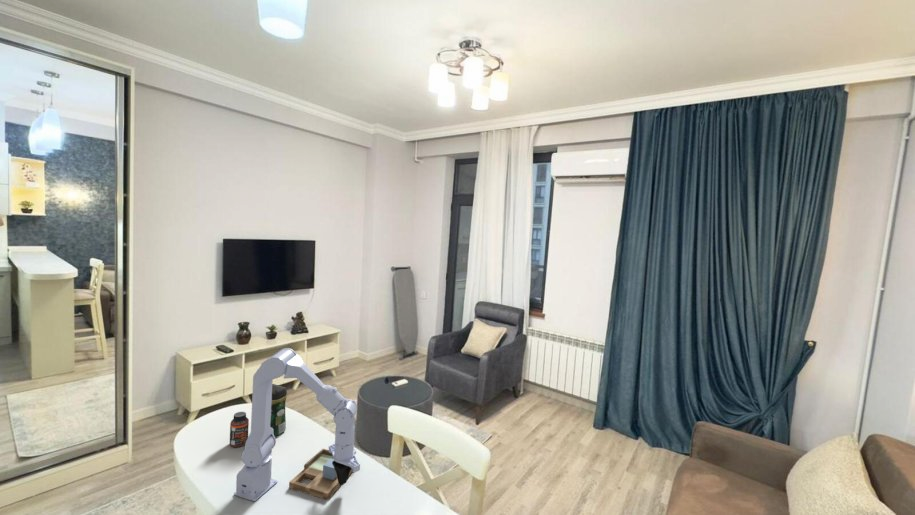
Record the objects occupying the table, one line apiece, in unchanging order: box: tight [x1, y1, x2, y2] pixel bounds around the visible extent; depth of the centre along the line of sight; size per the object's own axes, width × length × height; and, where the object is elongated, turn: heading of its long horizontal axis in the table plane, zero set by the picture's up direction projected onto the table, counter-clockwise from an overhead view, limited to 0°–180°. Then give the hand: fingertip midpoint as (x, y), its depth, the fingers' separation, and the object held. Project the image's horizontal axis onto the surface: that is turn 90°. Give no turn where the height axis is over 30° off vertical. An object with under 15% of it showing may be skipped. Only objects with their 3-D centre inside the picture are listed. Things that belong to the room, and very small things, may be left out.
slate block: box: [323, 458, 337, 480], centre depth 124 cm, size 4×4×4 cm
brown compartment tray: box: [288, 448, 354, 501], centre depth 126 cm, size 17×14×4 cm
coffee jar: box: [270, 383, 288, 437], centre depth 150 cm, size 10×8×19 cm
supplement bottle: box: [229, 411, 250, 448], centre depth 141 cm, size 6×6×11 cm
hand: (342, 482), depth 120 cm, fingers closed
